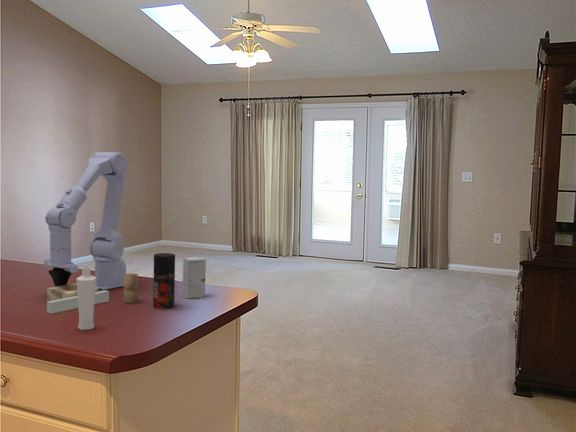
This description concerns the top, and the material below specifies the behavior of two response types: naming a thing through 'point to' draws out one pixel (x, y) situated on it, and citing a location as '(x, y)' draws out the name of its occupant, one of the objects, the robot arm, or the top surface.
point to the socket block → (63, 291)
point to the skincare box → (194, 277)
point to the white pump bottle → (86, 298)
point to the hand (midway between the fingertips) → (60, 293)
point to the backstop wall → (74, 302)
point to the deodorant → (164, 281)
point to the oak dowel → (130, 288)
